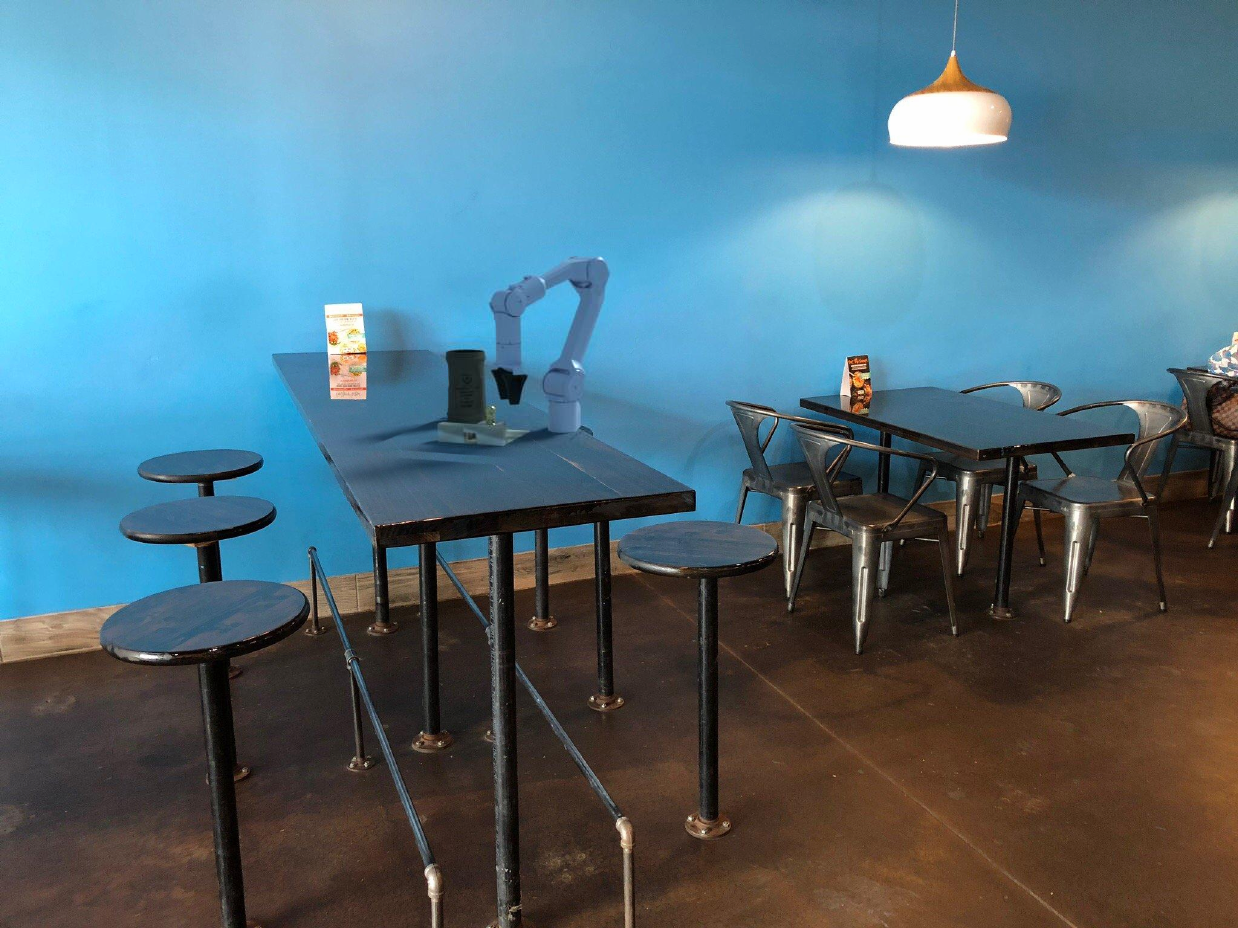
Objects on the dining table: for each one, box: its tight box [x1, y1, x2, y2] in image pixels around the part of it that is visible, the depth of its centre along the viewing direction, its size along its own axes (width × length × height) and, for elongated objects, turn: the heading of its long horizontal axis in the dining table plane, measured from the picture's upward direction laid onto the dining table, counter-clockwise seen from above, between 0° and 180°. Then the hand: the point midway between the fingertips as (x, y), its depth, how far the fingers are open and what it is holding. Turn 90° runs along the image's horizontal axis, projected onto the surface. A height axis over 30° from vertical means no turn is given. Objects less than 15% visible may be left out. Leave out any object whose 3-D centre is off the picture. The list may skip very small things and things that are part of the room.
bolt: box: [475, 405, 497, 438], centre depth 224 cm, size 8×2×6 cm, turn 165°
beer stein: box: [445, 348, 487, 424], centre depth 243 cm, size 15×11×20 cm
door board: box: [436, 421, 531, 447], centre depth 224 cm, size 18×16×6 cm
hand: (509, 402), depth 220 cm, fingers open, 7 cm apart
